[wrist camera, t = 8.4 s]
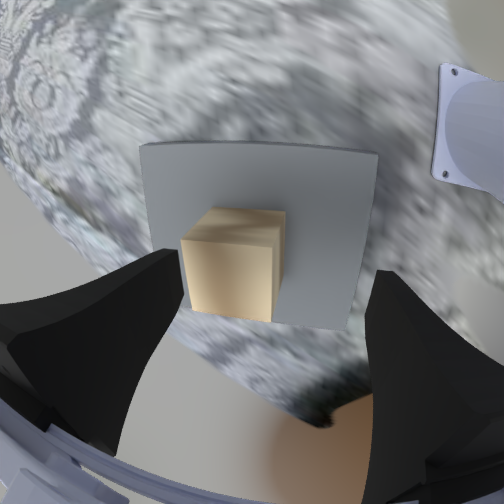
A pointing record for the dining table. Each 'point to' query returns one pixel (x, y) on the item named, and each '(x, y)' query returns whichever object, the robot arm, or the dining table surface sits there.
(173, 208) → the slate board
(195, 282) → the maple block
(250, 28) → the dining table surface
